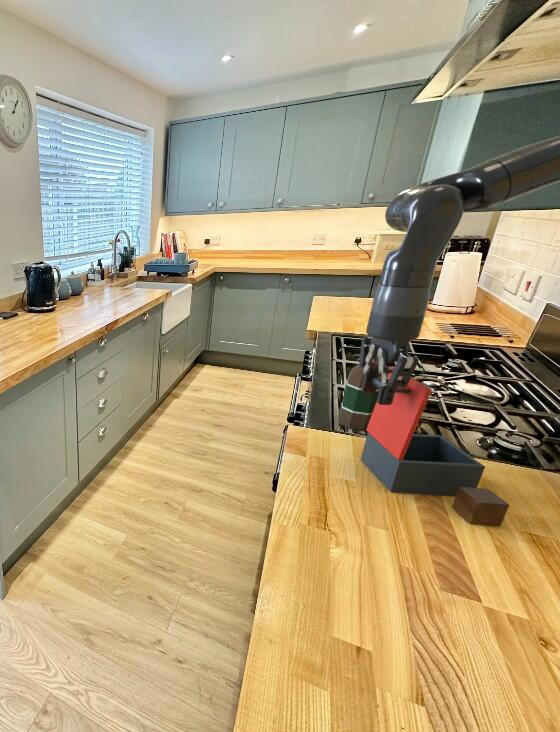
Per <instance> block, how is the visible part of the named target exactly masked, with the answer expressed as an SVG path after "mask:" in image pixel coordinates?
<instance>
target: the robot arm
mask: <svg viewBox="0 0 560 732" xmlns="http://www.w3.org/2000/svg"><path fill="white" fill-rule="evenodd" d="M558 183H560V135H557V136H554V137H550V138H548V139H544V140H540V141H538V142H534V143H531V144H527V145H525V146H522V147H519V148H517V149H514V150H510V151H508V152H506V153H503V154H500V155H498V156H496V157H493V158H490V159H488V160H485V161H482V162H481V163H479V164H476V165H475V166H472V167H470V168H467V169H464V170H462V171H459V172H455V173H452V174H448V175H445V176H442V177H438V178H435V179H431V180H428V181H426V182H421V183H419V184H416V185H413V186H411V187H408V188H406V189H404V190H402V191H401V192H400V193H398V194H397V195H396V196H394V197H393V199H391V201H390V202H389V203H388V205H387V206H386V209H385V213H384V219H385V222H386V224H387V225H388V227H390V228H391V229H392V230H395V231H398V232H400V233H401V232H402V233H405V236H404V238H403V239H402V242H401V243H400V246H399V247H398V248H394V249H392V250H390V251H389V252H388V253H387V254H386V255H385V257H384V259H383V264H382V267H381V272H380V277H379V280H378V285H377V287H376V290H375V292H374V296H373V299H372V304H371V308H370V312H369V315H368V316H369V317H368V321H367V326H366V330H365V332H366V334H367V337H366V336H365V337H362V338H361V344H360V352H359V353H360V354H359V362H358V364H359V366H360V367H363V368H364V369H363V372H364V373H365V377H364V381H363V385H362V389H361V390H362V391H363V392H364V393H374V392H375V391H376V388H377V387H376V386H375V385H373V384H372V382H371V381H372V379H373V378H374V377H376V376H380V375H378V374H379V373H381V374H382V385H381V386H380V390H379V394H378V398H377V403H379V404H380V405H391V404H392V402H393V399H394V395H395V391H396V388H397V387H406V386H407V385H408V383H409V381H410V379H411V378H413V374H414V372H415V370H416V368H417V366H418V364H419V357H417V356H411V355H410V354H409V343H410V342H412V341H413V340H414V341H415V340H417V339H418V338H419V337H420V334H421V330H422V328H423V323H424V320H425V316H426V313H427V310H428V305H429V301H430V296H431V288H432V283H433V279H434V276H435V272H436V269H437V265H438V260H439V259H440V257H441V255H442V254H443V253H444V251H445V249H446V248H447V246H448V245H449V243H450V241H451V239H452V237H453V235H454V234H455V232H456V230H457V228H458V227H459V225H460V223H461V220H462V218H463V215H464V213H467V212H469V213H470V212H479V211H482V210H486V209H489V208H493V207H496V206H498V205H501V204H504V203H507V202H509V201H512V200H515V199H518V198H520V197H523V196H526V195H528V194H530V193H534V192H535V191H539V190H541V189H544V188H547V187H550V186H553V185H555V184H558ZM368 335H369V336H371V337H368ZM366 356H367V357H366ZM389 367H394V369H389ZM389 373H392V374H391V376H390V379H389V380H388V376H389ZM401 376H403V378H402V380H401Z"/></svg>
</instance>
